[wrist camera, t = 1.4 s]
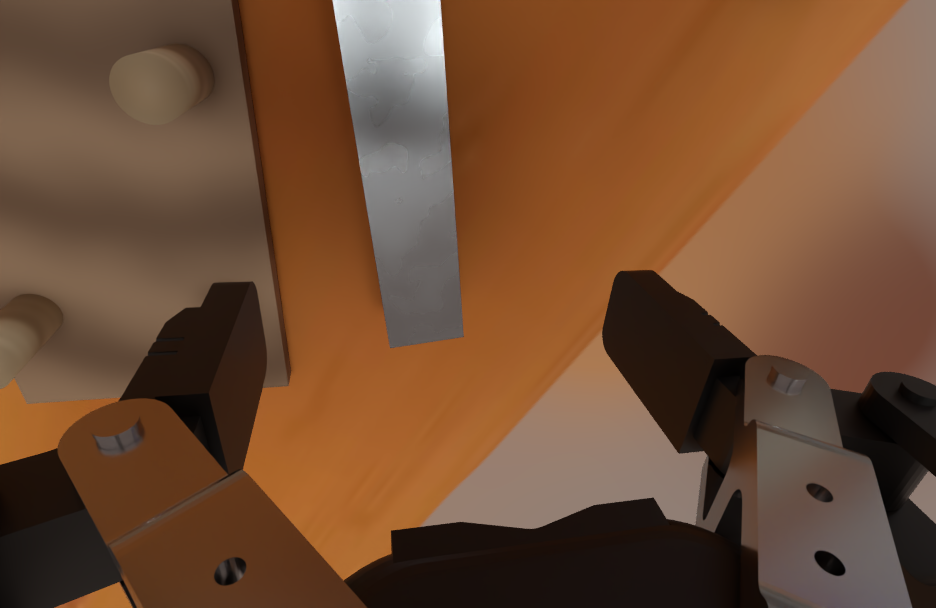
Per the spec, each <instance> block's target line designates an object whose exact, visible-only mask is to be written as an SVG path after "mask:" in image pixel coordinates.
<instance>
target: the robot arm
mask: <svg viewBox="0 0 936 608" xmlns="http://www.w3.org/2000/svg"><path fill="white" fill-rule="evenodd" d="M602 335H603V336H602V337H603V344H604V348H605V350H606V352H607V354H608V355H609V357H610V358H611V360H612V361H613V362H614V364H615V365H616V367H617V368H618V369H619V371H620V372H621V374H622V375H623V376H624V378H625V379H626V381H627V382H628V383H629V385H630V386H631V388H632V389H633V390H634V392H635V393H636V395H637V396H638V397H639V399H640V400H641V402H642V403H643V404H644V406H645V407H646V408H647V410H648V411H649V413H650V414H651V415H652V417H653V418H654V420H655V421H656V422H657V424H658V425H659V427H660V428H661V429H662V431H663V432H664V434H665V435H666V436H667V438H668V439H669V440H670V442H671V443H672V445H673V446H674V447H675V449H676V450H677V452H678V453H689V452H699V451H705V453H706V454H707V457H706V460H705V463H704V465H703V467H702V473H701V482H700V490H699V499H698V507H697V516H696V525H692V524H688V523H683V522H679V521H675V520H669V519H666V518H665V516H664V514H663V513H662V511H661V509H660V507H659V506H658V504H657V502H656V501H655V499H654V498H647V499H639V500H631V501H623V502H615V503H607V504H601V505H600V504H599V505H593V506H591V507H589V508H586V509H584V510H581V511H579V512H576V513H574V514H571V515H569V516H567V517H564V518H562V519H560V520H557V521H555V522H552V523H550V524H547V525H545V526H543V527H540V528H536V529H523V528H513V527H504V526H495V525H485V524H476V523H466V522H456V523H449V524H441V525H433V526H425V527H417V528H409V529H401V530H393V531H391V551H392V554H390V555H387V556H385V557H382V558H380V559H378V560H376V561H374V562H372V563H370V564H368V565H366V566H365V567H363V568H361V569H360V570H358V571H357V572H355V573H354V574H352V575H351V576H350V577H348V578H347V579H345V580H344V581H343V580H342V579H341V578H340V576H339V575H338V574H337V573H336V572H335V571H334V570H333V569H332V567H331V566H330V565H329V564H328V563H327V562H326V561H325V560H324V558H323V557H322V556H321V555H320V554H319V553H318V552H317V551H316V550H315V548H314V547H313V546H312V545H311V544H310V543H309V542H308V541H307V539H306V538H305V537H304V536H303V535H302V534H301V533H300V532H299V530H298V529H297V528H296V527H295V526H294V525H293V524H292V523H291V522H290V520H289V519H288V518H287V517H286V516H285V515H284V514H283V513H282V511H281V510H280V509H279V508H278V507H277V506H276V505H275V504H274V502H273V501H272V500H271V499H270V498H269V497H268V496H267V495H266V494H265V492H264V491H263V490H262V489H261V488H260V487H259V486H258V485H257V483H256V482H255V481H254V480H253V479H252V478H251V477H250V476H249V475H248V474H247V473H246V472H245V471H243V466H244V462H245V458H246V454H247V450H248V446H249V442H250V437H251V433H252V429H253V425H254V421H255V417H256V413H257V409H258V404H259V400H260V396H261V392H262V388H263V384H264V380H265V376H266V370H267V348H266V341H265V335H264V329H263V323H262V317H261V311H260V305H259V299H258V293H257V289H256V285H255V283H254V282H253V281H250V282H217V283H213V284H212V285H211V287H210V289H209V291H208V293H207V295H206V297H205V299H204V301H203V303H202V305H201V307H189V308H184V309H183V310H182V311H180V312H179V313H178V314H176V315H175V316H173V317H172V318H171V319H169V320H168V321H167V322H166V323H165V324H164V326H163V328H162V329H161V331H160V333H159V334H158V336H157V338H156V342H154V343H153V344H152V346H151V348H150V349H149V351H148V356H145V358H144V359H143V361H142V363H141V364H140V366H139V368H138V369H137V371H136V373H135V374H134V376H133V378H132V379H131V381H130V383H129V384H128V386H127V388H126V390H125V391H124V393H123V395H122V396H121V398H120V400H119V401H118V402H115V403H111V404H109V405H106V406H103V407H101V408H99V409H96V410H94V411H92V412H90V413H89V414H87V415H85V416H83V417H82V418H81V419H79V420H78V421H76V422H75V423H74V424H73V425H72V426H71V427H69V429H68V430H67V431H66V432H65V433H64V434H63V436H62V438H61V439H60V442H59V444H58V448H57V449H54V450H51V451H48V452H45V453H41V454H38V455H34V456H30V457H27V458H23V459H20V460H16V461H12V462H9V463H5V464H2V465H0V608H54V607H57V606H59V605H62V604H64V603H67V602H69V601H72V600H74V599H77V598H80V597H82V596H85V595H87V594H90V593H92V592H95V591H97V590H100V589H102V588H105V587H107V586H110V585H112V584H115V583H117V582H119V584H120V585H121V587H122V589H123V591H124V593H125V595H126V597H127V599H128V601H129V603H130V604H131V606H132V608H936V524H935V523H934V522H933V521H932V520H931V519H930V518H929V517H928V516H927V515H926V514H924V513H923V512H922V511H921V510H920V509H919V508H918V507H917V506H916V505H915V504H914V503H913V502H912V501H911V500H910V499H909V496H910V495H911V493H912V492H913V491H914V489H915V488H916V487H917V485H918V484H919V483H920V481H921V480H922V479H923V477H924V476H925V475H926V473H927V472H928V471H930V472H931V473H932V474H933V475H934V476H936V386H935V385H933V384H931V383H929V382H926V381H924V380H922V379H919V378H916V377H913V376H909V375H906V374H901V373H895V372H880V373H876V374H875V375H873V376H872V378H871V379H870V381H869V383H868V384H867V386H866V388H865V390H864V391H863V393H856V392H849V391H842V390H835V389H830V387H829V385H828V384H827V382H826V381H825V380H824V379H823V378H822V377H821V376H820V375H818V374H817V373H816V372H814V371H813V370H811V369H809V368H807V367H806V366H804V365H802V364H800V363H797V362H795V361H792V360H789V359H786V358H781V357H778V356H770V355H759V356H757V355H756V354H755V353H754V352H752V351H751V350H750V349H749V348H748V347H747V346H745V345H744V344H743V343H742V342H741V341H740V340H739V339H738V338H736V337H735V336H734V335H733V334H732V333H731V332H730V331H728V330H727V329H726V328H725V327H724V326H722V325H721V326H720V323H719V322H718V321H717V320H716V319H715V318H714V317H713V316H711V315H708V312H707V311H705V309H703V308H702V307H701V306H700V305H699V304H698V303H696V302H695V301H694V300H693V299H691V298H689V297H687V296H685V295H683V294H681V293H679V292H677V291H676V290H675V289H673V287H671V286H670V285H669V284H668V283H667V282H666V281H665V280H663V279H662V278H661V277H660V276H659V275H658V274H657V273H656V272H654V271H652V270H638V271H620V272H619V273H618V274H617V275H616V277H615V279H614V282H613V286H612V291H611V295H610V299H609V303H608V308H607V312H606V316H605V321H604V325H603V331H602Z"/></svg>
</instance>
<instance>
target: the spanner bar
mask: <svg viewBox="0 0 936 608" xmlns="http://www.w3.org/2000/svg"><path fill="white" fill-rule="evenodd" d="M333 6H334V12H335V18H336V24H337V30H338V36H339V43H340V49H341V55H342V61H343V67H344V73H345V79H346V85H347V91H348V97H349V103H350V109H351V115H352V121H353V127H354V133H355V139H356V145H357V151H358V157H359V163H360V170H361V176H362V182H363V188H364V194H365V200H366V206H367V212H368V218H369V224H370V230H371V236H372V242H373V248H374V254H375V260H376V266H377V272H378V278H379V284H380V290H381V297H382V303H383V309H384V315H385V321H386V327H387V333H388V339H389V345H390V348H394V347H401V346H407V345H414V344H420V343H427V342H433V341H440V340H446V339H453V338H459V337H464V335H463V321H462V306H461V292H460V277H459V263H458V248H457V234H456V219H455V205H454V190H453V176H452V161H451V147H450V132H449V118H448V103H447V89H446V74H445V60H444V45H443V31H442V16H441V2H440V0H333Z"/></svg>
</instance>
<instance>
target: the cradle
mask: <svg viewBox="0 0 936 608" xmlns="http://www.w3.org/2000/svg"><path fill="white" fill-rule="evenodd" d="M250 281H253V282H254V283H255V285H256V289H257V293H258V299H259V305H260V311H261V317H262V323H263V329H264V335H265V341H266V348H267V370H266V376H265V380H264V384H263V388H265V387H280V386H289V380H290V375H291V368H290V361H289V354H288V347H287V340H286V333H285V326H284V319H283V312H282V305H281V298H280V291H279V284H278V277H277V270H276V263H275V256H274V249H273V242H272V235H271V228H270V221H269V214H268V207H267V200H266V193H265V186H264V179H263V172H262V165H261V158H260V151H259V144H258V137H257V130H256V123H255V116H254V109H253V102H252V95H251V88H250V81H249V74H248V67H247V60H246V53H245V46H244V39H243V32H242V25H241V18H240V11H239V4H238V0H0V389H1V388H4V387H5V386H7V385H8V384H9V383H10V382H11V381H12V380H13V378H15V380H16V382H17V384H18V386H19V388H20V390H21V392H22V394H23V396H24V398H25V400H26V402H27V404H31V403H46V402H60V401H75V400H90V399H104V398H119V397H121V396H122V395H123V393H124V391H125V390H126V388H127V386H128V384H129V383H130V381H131V379H132V378H133V376H134V374H135V373H136V371H137V369H138V368H139V366H140V364H141V363H142V361H143V359H144V358H145V356H148V351H149V349H150V348H151V346H152V344H153V343H154V342H156V338H157V336H158V334H159V333H160V331H161V329H162V328H163V326H164V324H165V323H166V322H167V321H168V320H169V319H171V318H172V317H173V316H175V315H176V314H178V313H179V312H180V311H182V310H183V309H184V308H189V307H201V305H202V303H203V301H204V299H205V297H206V295H207V293H208V291H209V289H210V287H211V285H212V284H213V283H217V282H250Z"/></svg>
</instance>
